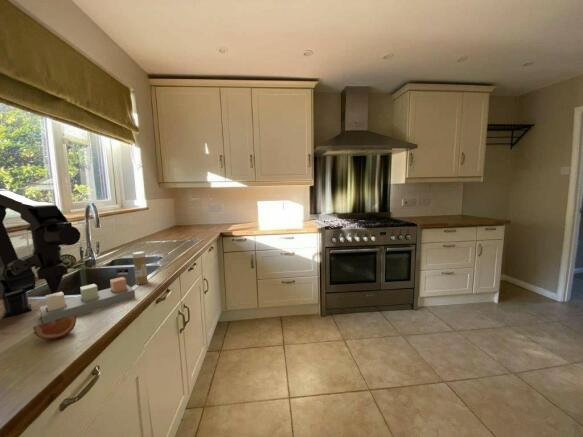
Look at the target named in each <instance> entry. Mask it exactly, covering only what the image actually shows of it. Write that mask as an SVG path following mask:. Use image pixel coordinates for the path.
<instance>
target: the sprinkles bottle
mask: <svg viewBox="0 0 583 437" xmlns="http://www.w3.org/2000/svg"><path fill="white" fill-rule="evenodd" d="M132 258H133V270H134V277H135V284H136V285H137V284H138V283H139V284H141V285H144V284H147V283H148V268H147V262H146V252H145V251H136V252H133V253H132Z"/></svg>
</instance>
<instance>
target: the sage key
mask: <svg viewBox="0 0 583 437" xmlns="http://www.w3.org/2000/svg"><path fill="white" fill-rule="evenodd" d="M79 289H80V296H81V298H82V301H83V302H85V301H88V300H92V299H96V298H99V296H98V291H99V290H98V285H97V284H95V283H92V284H87V285H83V286H80V287H79Z"/></svg>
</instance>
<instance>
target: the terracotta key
mask: <svg viewBox="0 0 583 437" xmlns="http://www.w3.org/2000/svg"><path fill="white" fill-rule="evenodd" d="M109 282H110V283H109V284H110V288H111V292H112V293H117V292H120V291H124V290H127V285H128V284H127V278H125V277H124V276H121V277H116V278H112V279H110V280H109Z"/></svg>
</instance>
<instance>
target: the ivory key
mask: <svg viewBox="0 0 583 437" xmlns="http://www.w3.org/2000/svg"><path fill="white" fill-rule="evenodd" d="M44 297H45V305H47V310H48V312H49V311H53V310H56V309H60V308H64V307H66V305H65V300H66V299H65V295H64V292H63V291H59V292H58V291H57V292H56V293H50V294H47V295H45V296H44Z"/></svg>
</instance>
